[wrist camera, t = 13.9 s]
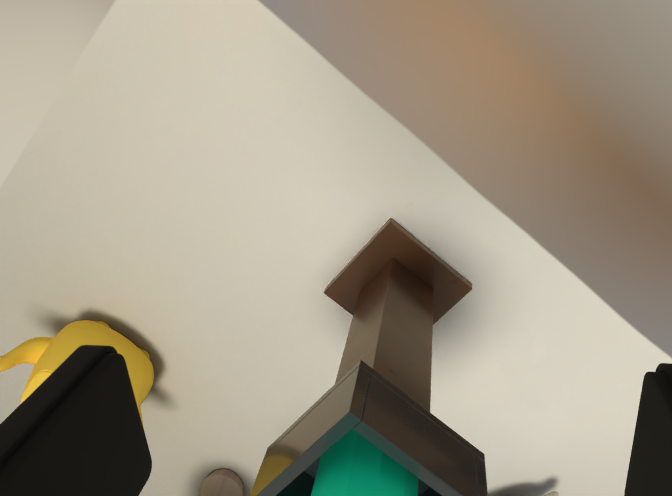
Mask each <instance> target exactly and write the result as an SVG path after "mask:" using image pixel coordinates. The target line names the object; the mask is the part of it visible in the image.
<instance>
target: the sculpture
mask: <svg viewBox="0 0 672 496" xmlns="http://www.w3.org/2000/svg"><path fill="white" fill-rule="evenodd" d="M524 496H528V495H524ZM545 496H558V492H557V491H554V492H551V493H548V494H547V495H545Z"/></svg>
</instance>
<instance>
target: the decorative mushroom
mask: <svg viewBox="0 0 672 496" xmlns="http://www.w3.org/2000/svg"><path fill="white" fill-rule="evenodd" d="M199 496H243V484H242V481H241V479H240V478H239V477H238V476H237V475H236V474H235V473H234V472H232V471H230V470H226V469H219V470H216V471H214V472H212V473H211V474H210V475H209V476H208V477H207V478H206V479H205V480H204V481H203V482H202V484H201V487H200V491H199Z"/></svg>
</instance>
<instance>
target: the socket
mask: <svg viewBox="0 0 672 496" xmlns="http://www.w3.org/2000/svg"><path fill="white" fill-rule="evenodd" d="M352 428H353V430H354V431H355V432H357V433H358V434H360V435H361V436H362V437H364V438H365V439H366V440H368V441H369V442H370V443H372V444H373V445H374V446H376V447H377V448H378V449H380V450H381V451H382V452H384V453H385V454H386V455H388V456H389V457H390V458H392V459H393V460H394V461H396V462H397V463H398V464H400V465H401V466H403V467H404V468H405V469H407V470H408V471H409V472H411V473H412V474H413V475H415V476H416V477H417V478H419V479H418V496H488V492H487V480H486V469H485V462H484V461H485V457H484V454H483V453H482V452H481V451H479V450H478V449H477V448H476V447H474V446H473V445H472V444H470V443H469V442H468V441H466V440H465V439H464V438H462V437H461V436H460V435H459V434H457V433H456V432H455V431H453V430H452V429H451V428H449V427H448V426H447V425H446V424H444V423H443V422H442V421H440V420H439V419H438V418H436V417H435V416H434V415H433V414H431V413H430V412H429V411H427V410H426V409H425V408H423V407H422V406H421V405H419V404H418V403H417V402H416V401H414V400H413V399H412V398H410V397H409V396H408V395H406V394H405V393H404V392H403V391H401V390H400V389H399V388H397V387H396V386H395V385H393V384H392V383H391V382H389V381H388V380H387V379H386V378H384V377H383V376H382V375H380V374H379V373H378V372H376V371H375V370H374V369H373V368H371V367H370V366H369V365H367V364H366V363H365V362H363V361H362V360H360V361H359V362H358V363H357V364H356V365H355V366H354V367H353V368H352V369H351V370H349V371H348V372H347V373H346V374H345V375H344V376H343V377H342V378H341V379H340V380H339V381H338V382H337V383H336V384H335V385H334V386H333V387H332V388H330V389H329V390H328V391H327V392H326V393H325V394H324V395H323V396H322V397H321V398H320V399H319V400H318V401H317V402H316V403H315V404H314V405H313V406H311V407H310V408H309V409H308V410H307V411H306V412H305V413H304V414H303V415H302V416H301V417H300V418H299V419H298V420H297V421H296V422H295V423H294V424H292V425H291V426H290V427H289V428H288V429H287V430H286V431H285V432H284V433H283V434H282V435H281V436H280V437H279V438H278V439H277V440H276V441H275V442H273V443H272V444H271V445H270V446H269V447H268V449H267V451H266V455H265V457H264V459H263V462H262V465H261V467H260V470H259V473H258V475H257V478H256V480H255V483H254V486H253V488H252V491H251V494H250V496H311V493H312V489H313V485H314V481H315V477H316V473H317V469H318V466H319V462H320V458H321V456H322V455H323V454H324V453H325V452H326V451H327V450H328V449H330V448H331V447H332V446H333V445H334V444H335V443H336V442H337V441H339V440H340V439H341V438H342V437H343V436H344V435H345V434H347V433H348V432H349V431H350V430H351V429H352Z"/></svg>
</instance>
